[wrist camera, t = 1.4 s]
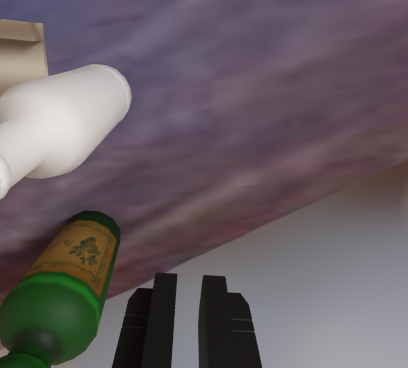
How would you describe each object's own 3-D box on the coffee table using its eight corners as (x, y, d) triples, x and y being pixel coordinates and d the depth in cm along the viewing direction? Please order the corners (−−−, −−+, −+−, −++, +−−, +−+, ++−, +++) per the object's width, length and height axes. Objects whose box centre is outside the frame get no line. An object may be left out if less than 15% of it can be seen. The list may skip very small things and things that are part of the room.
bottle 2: (116, 197, 50) (38, 360, 25) (135, 253, 55) (85, 441, 29) (50, 209, 51) (-94, 382, 25) (74, 264, 55) (-28, 459, 30)
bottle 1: (74, 120, 45) (-107, 244, 18) (70, 60, 42) (-156, 99, 15) (132, 125, 46) (42, 253, 18) (133, 66, 43) (25, 115, 15)
